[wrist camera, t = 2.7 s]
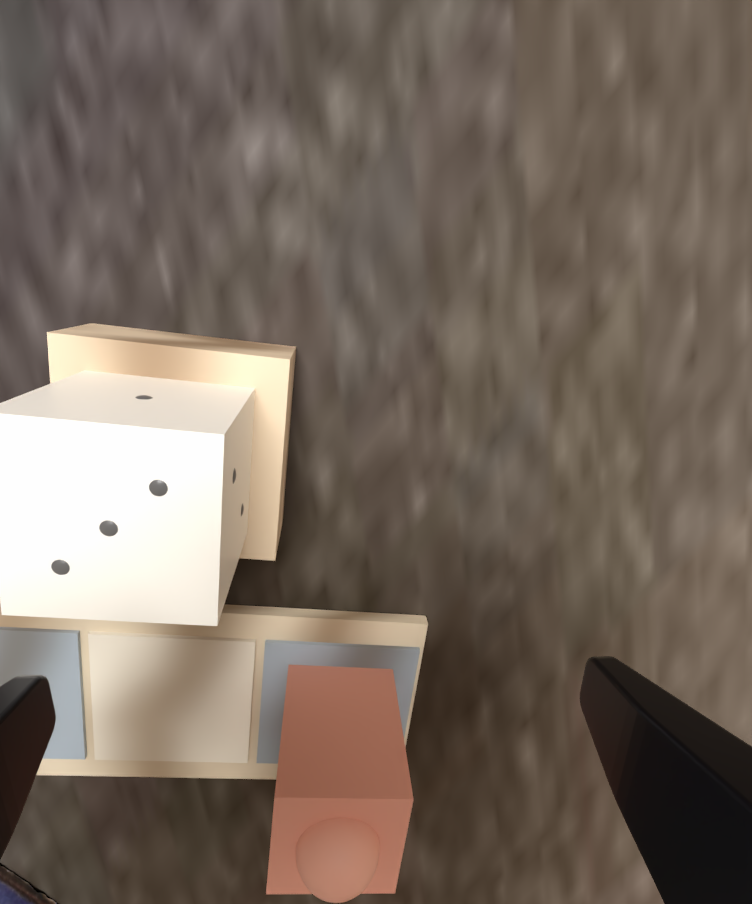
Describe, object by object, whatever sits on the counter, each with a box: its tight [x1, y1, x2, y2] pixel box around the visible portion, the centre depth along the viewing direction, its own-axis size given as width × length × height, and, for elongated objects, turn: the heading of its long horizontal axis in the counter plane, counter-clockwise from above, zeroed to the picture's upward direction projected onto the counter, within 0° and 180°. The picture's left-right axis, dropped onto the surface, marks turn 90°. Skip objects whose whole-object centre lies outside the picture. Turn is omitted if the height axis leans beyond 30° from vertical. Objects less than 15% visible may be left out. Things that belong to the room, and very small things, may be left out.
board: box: [0, 604, 428, 779], centre depth 23 cm, size 21×9×1 cm, turn 83°
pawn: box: [266, 665, 414, 903], centre depth 20 cm, size 4×4×7 cm
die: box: [0, 370, 255, 626], centre depth 14 cm, size 5×5×5 cm
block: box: [47, 323, 296, 561], centre depth 18 cm, size 7×7×3 cm
